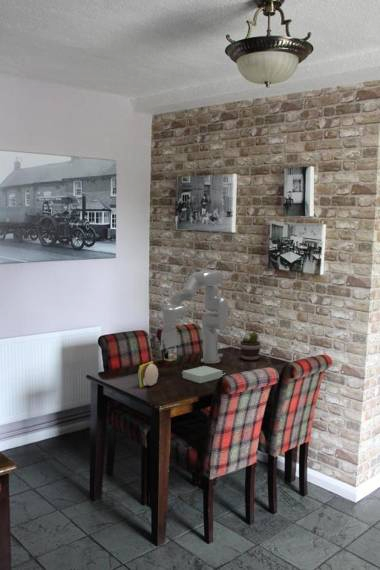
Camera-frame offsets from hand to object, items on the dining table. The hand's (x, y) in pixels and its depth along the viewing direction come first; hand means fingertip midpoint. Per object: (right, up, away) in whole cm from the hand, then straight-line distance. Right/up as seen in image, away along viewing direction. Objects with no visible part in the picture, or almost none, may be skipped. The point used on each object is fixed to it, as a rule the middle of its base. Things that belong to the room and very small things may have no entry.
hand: (170, 357), depth 334 cm
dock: (+19, -11, -6) cm, 23 cm away
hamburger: (-11, -13, -20) cm, 26 cm away
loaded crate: (0, -1, 0) cm, 1 cm away
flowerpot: (+52, -6, +37) cm, 64 cm away
